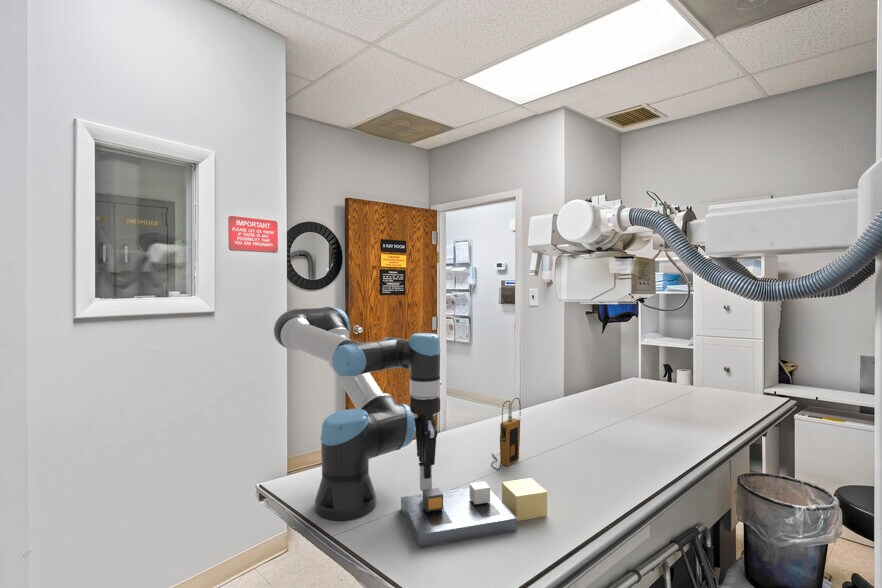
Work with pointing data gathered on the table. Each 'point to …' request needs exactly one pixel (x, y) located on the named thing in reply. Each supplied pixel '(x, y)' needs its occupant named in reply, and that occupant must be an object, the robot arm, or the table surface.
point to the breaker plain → (479, 492)
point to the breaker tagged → (432, 499)
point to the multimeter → (509, 439)
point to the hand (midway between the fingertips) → (425, 489)
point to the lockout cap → (524, 498)
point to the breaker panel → (456, 518)
